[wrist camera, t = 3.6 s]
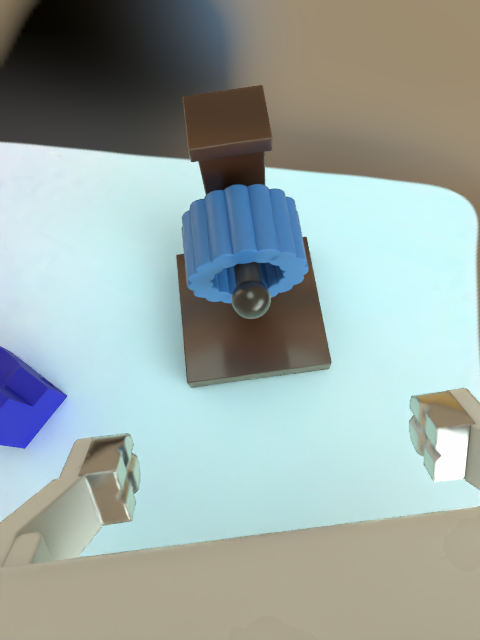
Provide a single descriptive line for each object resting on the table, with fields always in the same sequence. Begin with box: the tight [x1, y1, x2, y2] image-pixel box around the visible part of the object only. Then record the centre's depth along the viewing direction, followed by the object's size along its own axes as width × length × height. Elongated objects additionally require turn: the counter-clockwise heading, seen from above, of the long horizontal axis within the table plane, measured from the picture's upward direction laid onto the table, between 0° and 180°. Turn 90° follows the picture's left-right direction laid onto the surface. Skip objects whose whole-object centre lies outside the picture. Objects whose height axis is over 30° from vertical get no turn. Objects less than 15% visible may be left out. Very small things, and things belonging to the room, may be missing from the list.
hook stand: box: [176, 85, 331, 387], centre depth 27 cm, size 10×10×17 cm
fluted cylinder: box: [182, 184, 309, 303], centre depth 23 cm, size 3×6×6 cm, turn 97°
